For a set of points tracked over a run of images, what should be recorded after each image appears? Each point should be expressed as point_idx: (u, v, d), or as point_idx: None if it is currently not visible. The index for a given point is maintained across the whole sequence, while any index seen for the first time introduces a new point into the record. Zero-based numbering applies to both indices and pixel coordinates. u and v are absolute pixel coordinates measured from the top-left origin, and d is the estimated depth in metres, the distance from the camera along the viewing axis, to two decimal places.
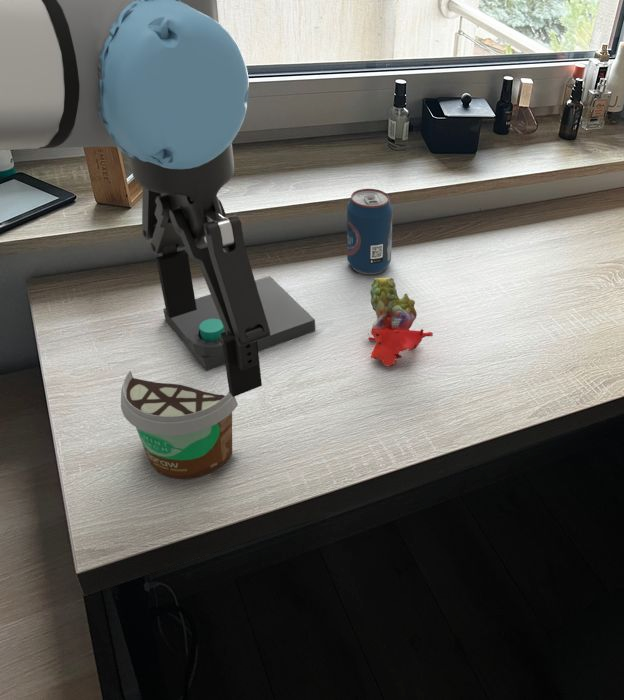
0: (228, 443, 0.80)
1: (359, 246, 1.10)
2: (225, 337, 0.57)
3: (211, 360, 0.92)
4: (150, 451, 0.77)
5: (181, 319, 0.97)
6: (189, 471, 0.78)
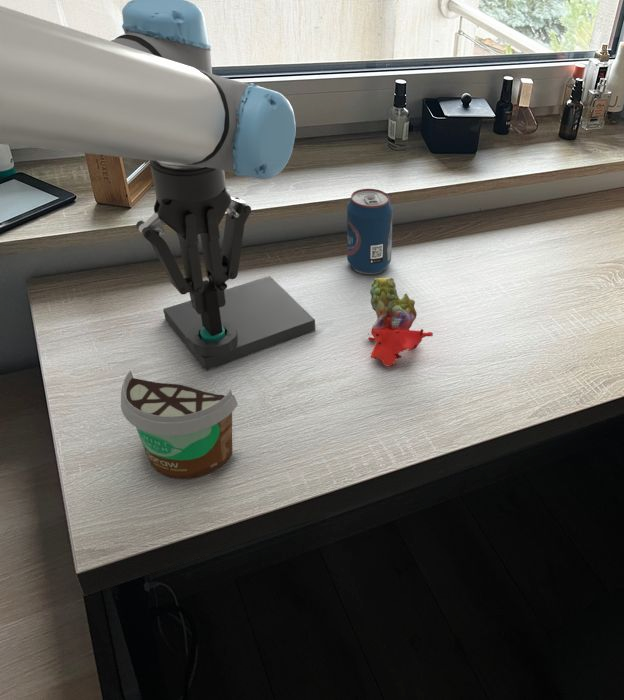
0: (228, 443, 0.80)
1: (359, 246, 1.10)
2: (226, 285, 0.89)
3: (211, 360, 0.92)
4: (150, 451, 0.77)
5: (181, 319, 0.97)
6: (189, 471, 0.78)
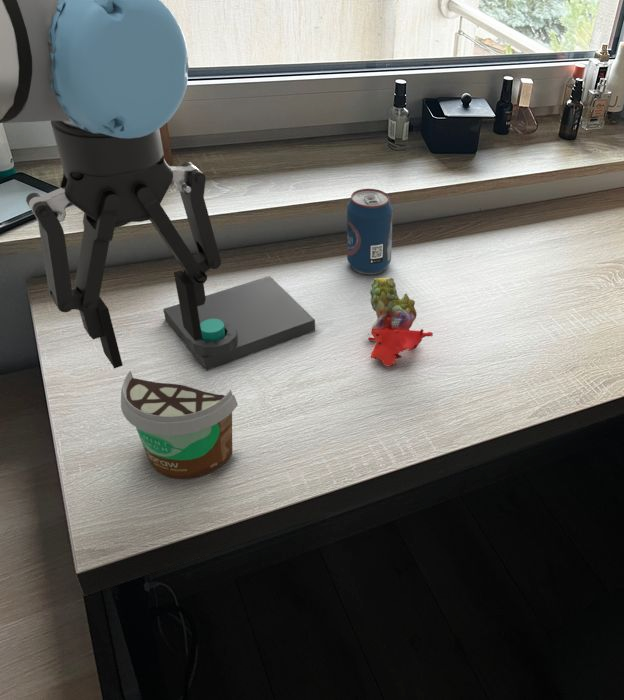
0: (228, 443, 0.80)
1: (359, 246, 1.10)
2: (206, 275, 0.67)
3: (211, 360, 0.92)
4: (150, 451, 0.77)
5: (181, 319, 0.97)
6: (189, 471, 0.78)
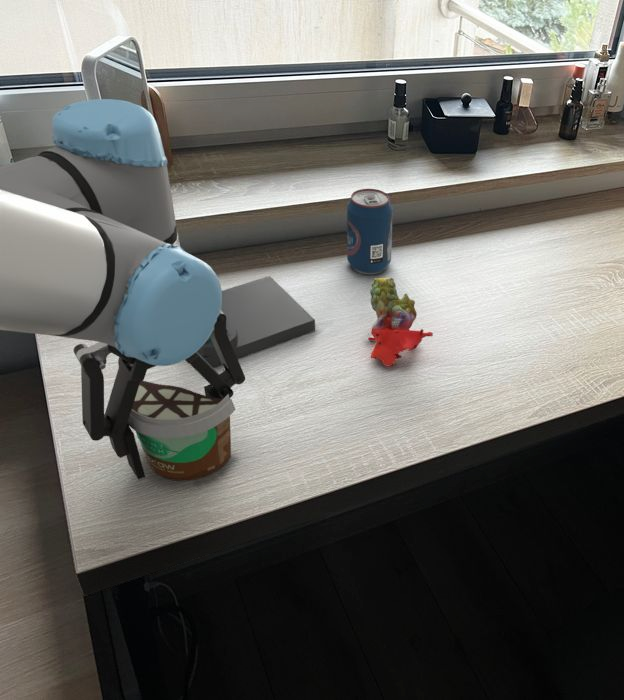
0: (226, 447, 0.80)
1: (359, 246, 1.10)
2: (232, 390, 0.77)
3: (211, 360, 0.92)
4: (147, 452, 0.77)
5: None
6: (186, 473, 0.78)
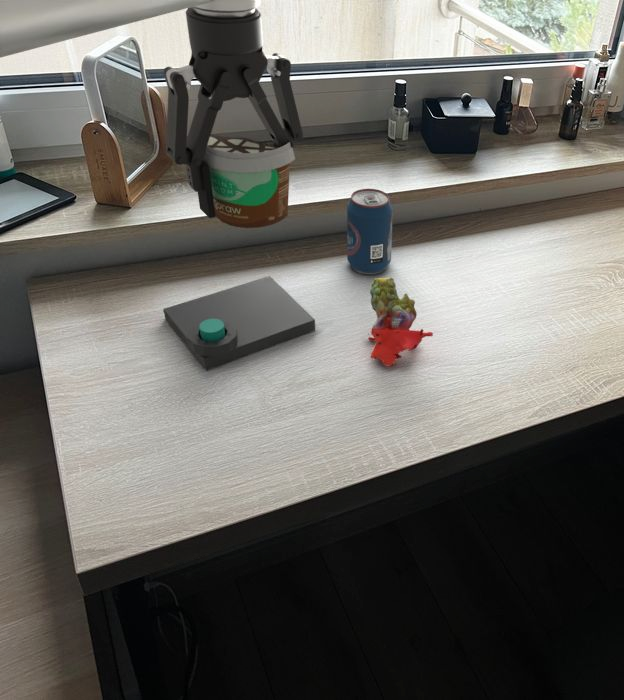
0: (285, 201, 0.90)
1: (359, 246, 1.10)
2: (292, 143, 0.87)
3: (211, 360, 0.92)
4: (217, 197, 0.87)
5: (181, 319, 0.97)
6: (250, 219, 0.88)
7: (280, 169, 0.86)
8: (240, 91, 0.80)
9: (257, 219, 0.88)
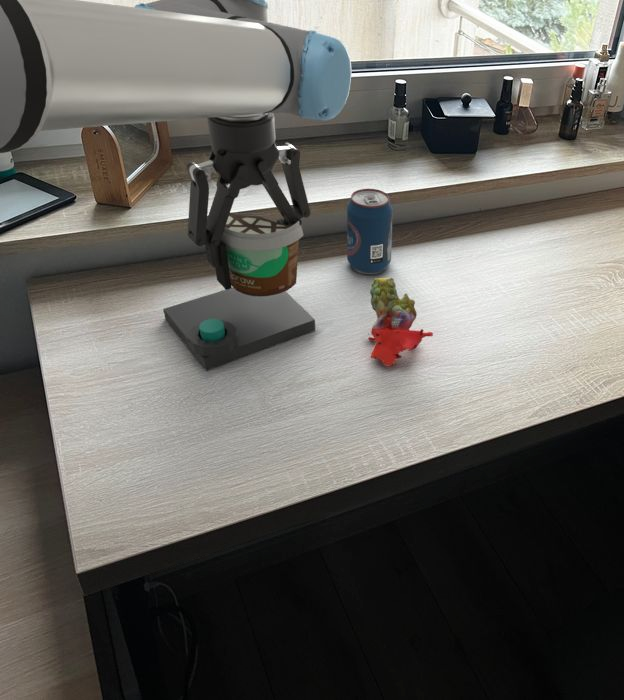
0: (294, 271, 0.98)
1: (359, 246, 1.10)
2: (300, 221, 0.96)
3: (211, 360, 0.92)
4: (232, 269, 0.95)
5: (181, 319, 0.97)
6: (262, 289, 0.96)
7: (290, 245, 0.94)
8: (254, 180, 0.89)
9: (269, 289, 0.97)
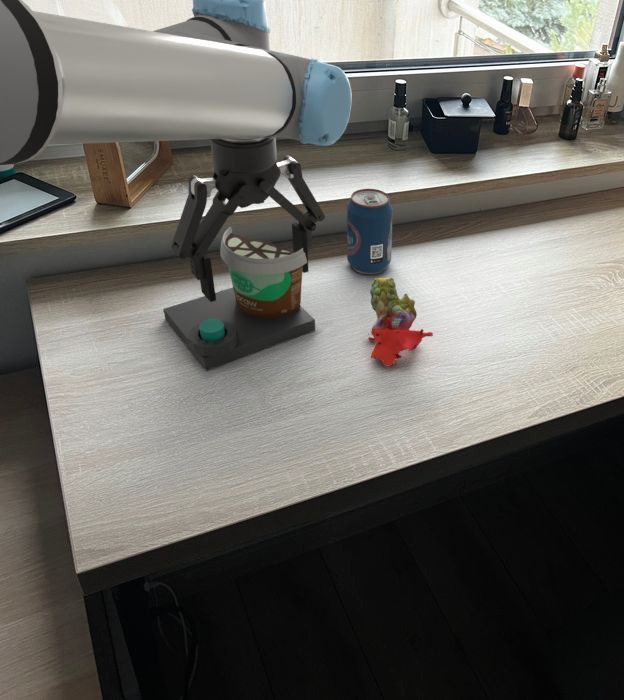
0: (297, 296, 1.00)
1: (359, 246, 1.10)
2: (315, 224, 0.97)
3: (211, 360, 0.92)
4: (237, 290, 0.98)
5: (181, 319, 0.97)
6: (264, 311, 0.98)
7: (293, 271, 0.96)
8: (256, 198, 0.90)
9: (271, 312, 0.99)
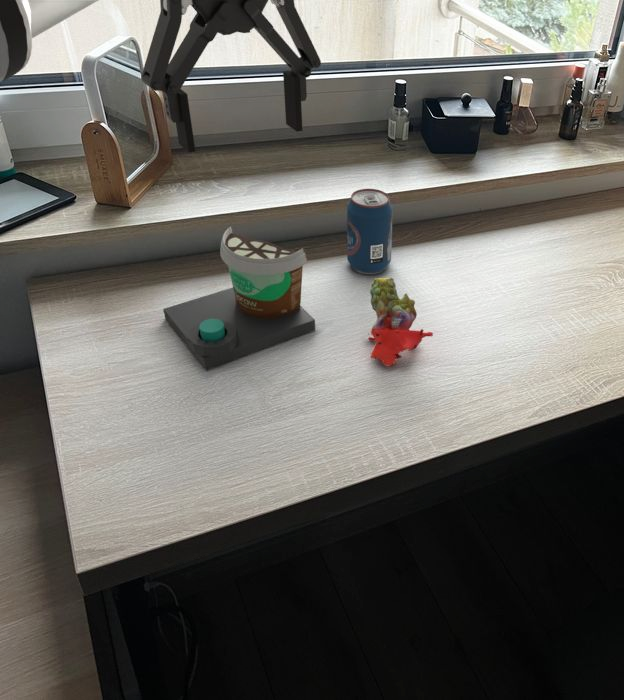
0: (297, 296, 1.00)
1: (359, 246, 1.10)
2: (309, 69, 0.85)
3: (211, 360, 0.92)
4: (237, 290, 0.98)
5: (181, 319, 0.97)
6: (264, 311, 0.98)
7: (293, 271, 0.96)
8: (240, 25, 0.78)
9: (271, 312, 0.99)
